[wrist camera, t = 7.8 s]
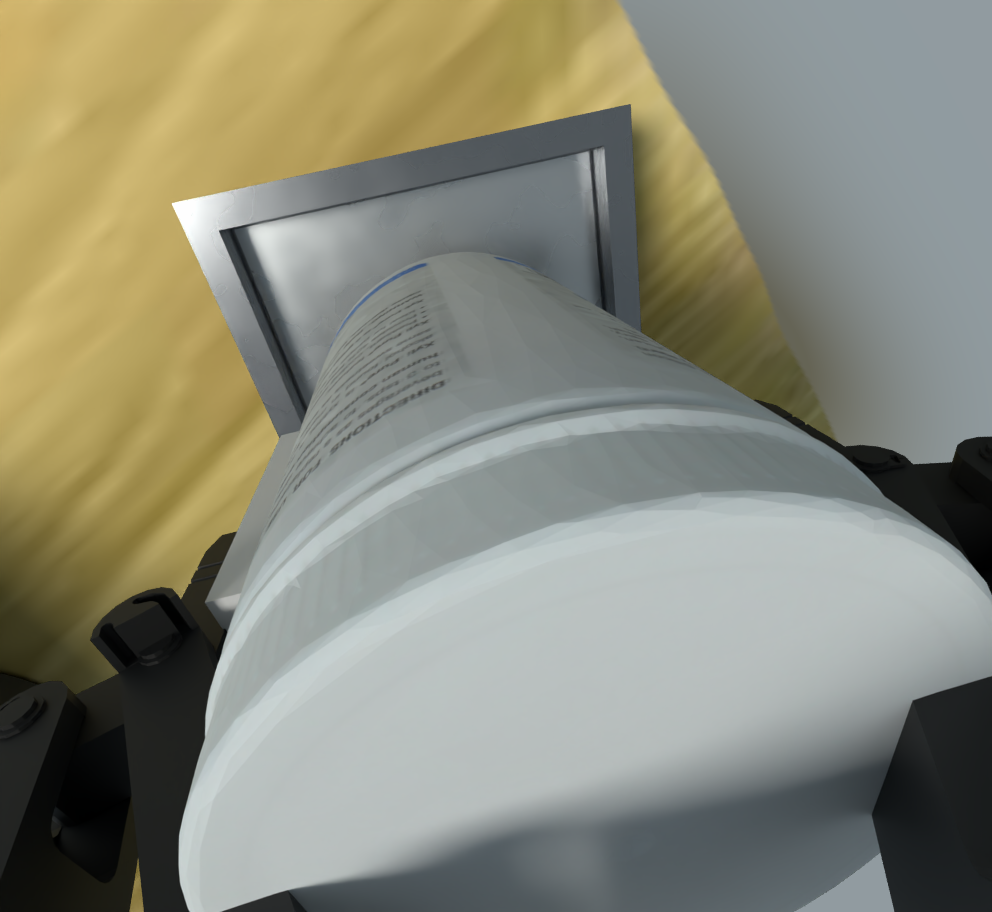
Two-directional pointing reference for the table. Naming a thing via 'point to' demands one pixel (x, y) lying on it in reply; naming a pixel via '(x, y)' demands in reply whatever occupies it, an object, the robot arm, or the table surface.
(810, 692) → the supplement tub
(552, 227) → the gray square tray
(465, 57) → the table surface
